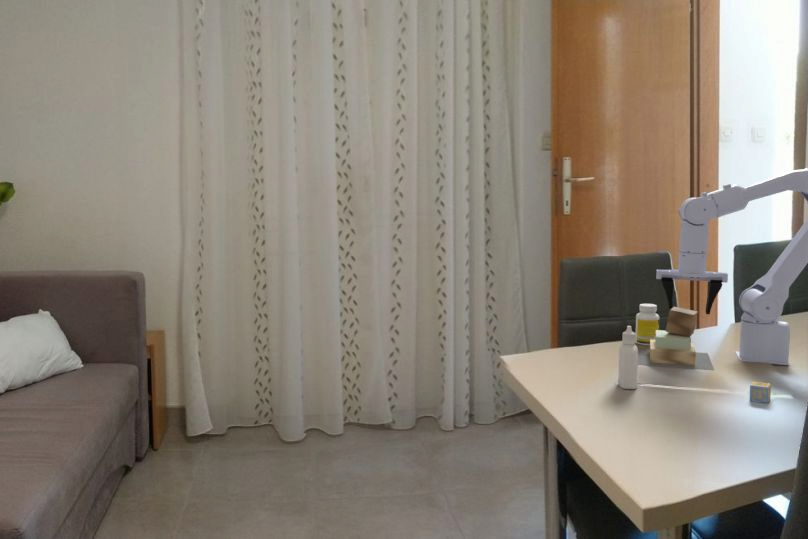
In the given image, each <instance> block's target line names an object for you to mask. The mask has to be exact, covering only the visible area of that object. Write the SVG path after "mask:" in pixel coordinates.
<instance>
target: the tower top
mask: <svg viewBox="0 0 808 539" xmlns="http://www.w3.org/2000/svg"><path fill="white" fill-rule="evenodd" d="M691 342H692V336H690V337H687V336H682V335H678V334H674V333H670V332H666V329H665V330H661V329H659V330H656V334H655V343H656V348H660V349H676V350H691Z"/></svg>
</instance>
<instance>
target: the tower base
mask: <svg viewBox="0 0 808 539" xmlns="http://www.w3.org/2000/svg"><path fill="white" fill-rule="evenodd" d="M649 349H650V362H651V363H666V364H680V365H695V358H696V352H697V351H696V348H695V346H694V343H693V341H691V350H676V349H660V348H656V343H655V340H652V339H650V345H649Z"/></svg>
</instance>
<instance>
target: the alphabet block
mask: <svg viewBox="0 0 808 539" xmlns="http://www.w3.org/2000/svg"><path fill="white" fill-rule="evenodd" d="M771 391H772V383H769V382H762V381H752V383H751V384H750V386H749V401H750V402H755V403H756V402H757V403H764V404H768V403H769V401H771V396H772V395H771V393H772V392H771Z"/></svg>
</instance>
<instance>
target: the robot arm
mask: <svg viewBox="0 0 808 539" xmlns="http://www.w3.org/2000/svg"><path fill="white" fill-rule="evenodd" d="M786 191H792V192H799V193H800V194H801V195H802V197H803V198H804V200H805V201H806V202H807V204H808V167H806V168H804V169H795V170H791V171H787V172H784V173H780V174H779V175H778V174H777V175H775V176H773V177H770V178H768V179H765V180H762V181H759V182H755V183H754V184H751V185H748V186H745V187H743V186H740V185H738V184H731V183H727V184H723V185H722V188H720V189H717V190H713V191H711V192H708V193H707V192H706V191H704V192H701V193H700V196H699V197H689V198H687V199H685V200H684V201H683V202H682V203H681V205H680V207H679V209H678V216H679V217H680V219H681V223H680V231H679V243H678V244H679V246H678V248H679V249H678V264H677V269H656V276H655V278H656V280H661V281H660V282H661V284H662V287H663V289H664V292H665V294H666V298H667V305H668V312H669V311H670V309H672V308H673V307H674V304H673V298H674V297H673V296H674V295H673V294H674V285H675V284H674V280H676V281H677V280H680V281H698V282H699V281H700V282H707V294H706V295H707V297H706V304H705V314H706V315H710V314H711V310H712V307H713V304H714V302H715V300H716V297H717V296H718V295H719V293H720V291H721V289H722V287H723V283H724V284H725V283H728V280H729V278H728V277H729V273H727V272H719V271H707V260H708V259H707V258H708V245H709V244H708V243H709V222H710V221H711V220H712V219H718V218H720V217H724V216H727V215H730V214H733V213H737V212H741V211H742V210H745V209H746V208H747V206H748V204H749V202H752V201H755V200H758V199H762V198H765V197H769V196H772V195H776V194H780V193H783V192H786ZM807 264H808V218H807V219H806V220H805V222H804V223H803V224H802V225H801V227H800V229H798V231H797V233H796V234H795V235H794V236H793V237H792V238H791V240H790V242H789V243H788V245H787V246H786V247H785V248H784V250H783V251H782V252H781V253H780V255H779V256H778V258H777V259H776V260H775V262H774V263H773V264H772V266H771V267H770V269H769V270H768V271H767V272H766V273H765V274H764V275H762V276H761V277H760V278H758V279H756V281H755V282H754V283H753V285H751V286H750V287H748V288H746V289H744V290H743V291H742V292H741V293H740V295H739V298H738V304H739V307H740V308H741V310H742V311H743V313H742V315H741V317H740V319H741V320H740V334H739V335H740V336H739V337H740V338H739V350H737V351H735V355H736V356H737V358H738V360H739V361H740V362H748V363H749V362H750V363H751V362H753V363H765V364H771V365H781V366H789V365H790V363H789V357H790V356H789V355H790V338H791V328H790V324H789V322H787V321H781V320H780V321H779V318H780V317H781V316H782V313H783V310H784V305H785V304H786V301H787V300H788V299H789V295H790V294H789V293H790V291H789V290H790V287H791V286H792V284H794V282H795V281H796V279H797V278H798V277H799V275H800V274H801V273H802V271H803V270H804V269H805V267H806V266H807Z"/></svg>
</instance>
